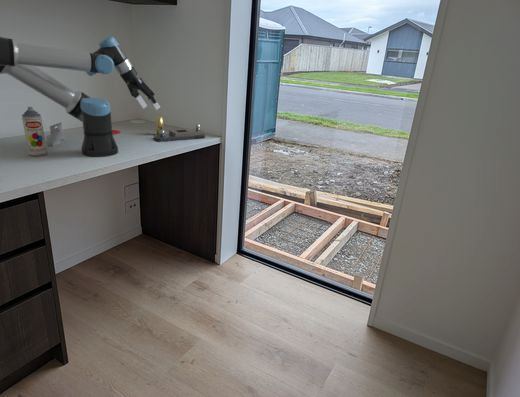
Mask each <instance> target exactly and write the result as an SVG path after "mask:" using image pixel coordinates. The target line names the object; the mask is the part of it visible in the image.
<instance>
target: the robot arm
mask: <svg viewBox="0 0 520 397" xmlns="http://www.w3.org/2000/svg"><path fill="white" fill-rule="evenodd" d="M98 45H99V48H98V49H97V50H96V51H93V52H92V53H91V52H85V51H77V50H71V49H63V48H56V47H50V46H43V45H38V44H31V43H30V44H28V43H24V42H23V43H21V42H16V40H14V39H13V38H7V37H3V36H0V75H4V74H6V75H8V76H11V78H14V79H15V80H17V81H19V83H22V84H23V85H25V86H27V87H29V88H30V89H32V90H34V91H36V92H37V93H39V94H41V95H42V96H44V97H45V98H48V99H49V100H51V101H53V102H55V103H56V104H57V105H60V106H62V107H63V108H64V109H65V112H66V114H69V115H70V116H71V117H74V118H75V119H77V120H79V121H80V122H82V127H83V129H82V130H83V135H84V137H83V141H82V145H81V153H82V155H83V156H88V157H95V158H96V157H107V156H108V157H109V156H113V155H116V154H118V153H119V147H118V144H117V142H116V140H115V138H114V135H113V134H112V130H113V125H112V112H111V111H112V110H111V108H112V107H111V105H110V102H109V101H108V100H107V99H104V98H100V97H91V96H89V95H88V94H86V93H84V92H82V91H81V90H78V91H77V90H76V91H75V90H73V89H71V88H70V87H69V86H67V85H66V84H63V83H62V82H61V81H59V80H57V79H56V78H54V77H52V76H51V75H50V74H48V73H47V72H45V71H43V70H41V69H40V68H38V67H44V68H51V69H52V68H53V69H61V70H69V71H78V72H85V73H86V74H87V75H88V76H89V77H92V76H94V75H96V74H101V75H109V74H111V73H113V71H114V69H115V71H116V72H117V74H119V75H120V76H119V77H120V78H121V79H122V81H123V82H124V83H125V85H126V86H127V88H128V91H129V93H130V95H131V97H133V98H134V99H136V101H137V102H138V104H139V105H140V107H141V109H143V110H144V109H145V108H147V107H148V104H147V103H146V101H145V100H144V99H143V97H142V96H141V95H140V93H139V91H140V92H141V93H143V94H144V95H145V96H146V97H147V100H149V102H150V104H151V105H152V106H153V108H154V110H155V111H158V110H159V109H160V108H161V105H160V104H159V103H158V101H157V99H156V98H155V92H154V91H153V90H152V89H151V88H150V87H149V86H148V85H147V84H146V83H145V81H144V80H143V79H142V78H141V77H139V78H138V77H137V76H138V72H137V70H136V68H135V66H133V64H132V62H131V60H130V59H129V58H128V57H127V55H126V53H125V52H124V50H123V48H122V47H121V45H120V44H119V42H118V41H117V40H116V38H115V37H113V36H107V37H105V38H103V39H102V40H100V41H99V42H98ZM138 90H139V91H138Z"/></svg>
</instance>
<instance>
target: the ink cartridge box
mask: <svg viewBox="0 0 520 397" xmlns="http://www.w3.org/2000/svg"><path fill="white" fill-rule="evenodd" d="M49 133H50V134H48V135H46V136H45V138H46V143H47V147H48V148H49V147H50V148H54V147H56V146H58V145H60V144H63V143H64V142H65V137H64V132H63V124H62V122H59V123H56V124H53V125H50V126H49Z"/></svg>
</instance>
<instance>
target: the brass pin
mask: <svg viewBox="0 0 520 397" xmlns="http://www.w3.org/2000/svg"><path fill="white" fill-rule="evenodd" d="M160 130H165V128H164V117H163V116H156V117H155V131H156V133H155V135H157V134H160Z"/></svg>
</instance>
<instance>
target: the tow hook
mask: <svg viewBox="0 0 520 397" xmlns="http://www.w3.org/2000/svg"><path fill="white" fill-rule="evenodd" d="M120 133H121V130H117V129H112V134H113V136H114V135H115V134H120Z"/></svg>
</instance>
